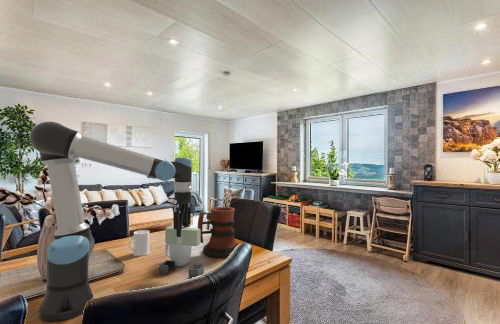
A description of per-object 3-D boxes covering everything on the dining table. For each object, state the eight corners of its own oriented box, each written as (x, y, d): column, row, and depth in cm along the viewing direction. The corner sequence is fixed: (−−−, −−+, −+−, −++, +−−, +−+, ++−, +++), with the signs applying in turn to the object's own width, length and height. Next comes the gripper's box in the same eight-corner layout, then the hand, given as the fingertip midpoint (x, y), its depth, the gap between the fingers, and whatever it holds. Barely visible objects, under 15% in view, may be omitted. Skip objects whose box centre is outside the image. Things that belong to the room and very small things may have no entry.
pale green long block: (196, 246, 115) (196, 230, 115) (165, 243, 119) (165, 228, 119) (200, 244, 118) (200, 228, 118) (169, 241, 122) (169, 226, 122)
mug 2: (157, 264, 129) (158, 238, 129) (172, 257, 139) (173, 232, 139) (181, 269, 123) (182, 242, 123) (195, 262, 133) (196, 236, 133)
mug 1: (132, 259, 135) (132, 236, 135) (123, 255, 140) (124, 233, 141) (152, 253, 145) (153, 231, 145) (144, 249, 150) (144, 229, 150)
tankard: (245, 256, 142) (246, 211, 142) (199, 261, 134) (200, 213, 134) (235, 244, 163) (236, 205, 163) (195, 247, 155) (196, 206, 155)
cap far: (167, 274, 117) (167, 266, 117) (158, 273, 118) (159, 264, 118) (174, 269, 123) (174, 261, 123) (166, 268, 124) (166, 260, 124)
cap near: (197, 279, 113) (197, 270, 113) (188, 278, 114) (188, 268, 114) (203, 273, 119) (203, 264, 119) (195, 272, 120) (195, 263, 120)
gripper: (180, 193, 110) (179, 248, 110) (198, 189, 126) (197, 238, 126) (165, 192, 112) (164, 247, 112) (184, 189, 128) (183, 236, 128)
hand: (182, 242), depth 119 cm, fingers closed on pale green long block, 3 cm apart
